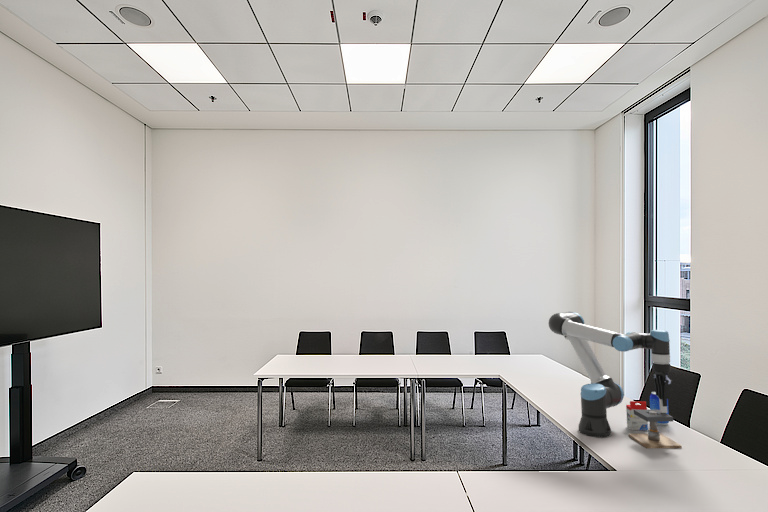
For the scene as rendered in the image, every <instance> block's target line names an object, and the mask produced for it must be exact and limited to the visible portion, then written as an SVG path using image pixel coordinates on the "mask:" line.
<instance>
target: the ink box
mask: <svg viewBox="0 0 768 512" xmlns="http://www.w3.org/2000/svg"><path fill="white" fill-rule="evenodd" d="M625 407H626V410H625V411H626V428H628V429H629V430H631V431H648V430H649V424H648V423H649V422H647V421H645V420H643V419H642V418H640V417H638V416H637V415H635V414H634V410H648V407H647V401H644V400H643V401H642V400H640V401H639V400H638V401H637V400H632V401H631V400H630V401H629V404H626V406H625Z"/></svg>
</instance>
